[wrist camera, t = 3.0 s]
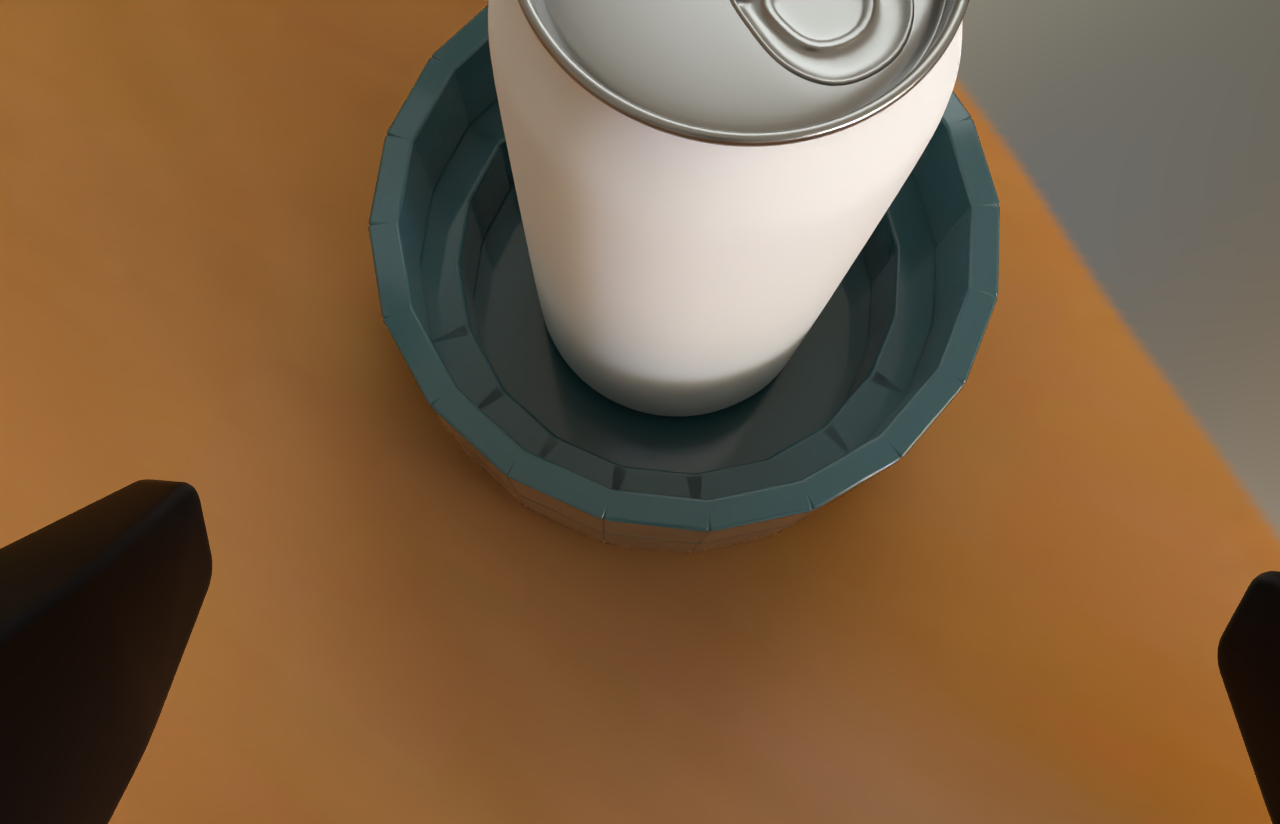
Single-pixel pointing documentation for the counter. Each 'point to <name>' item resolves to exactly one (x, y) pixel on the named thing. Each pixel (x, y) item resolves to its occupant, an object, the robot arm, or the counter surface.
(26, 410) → the counter surface
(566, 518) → the bowl
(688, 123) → the can
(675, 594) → the counter surface
